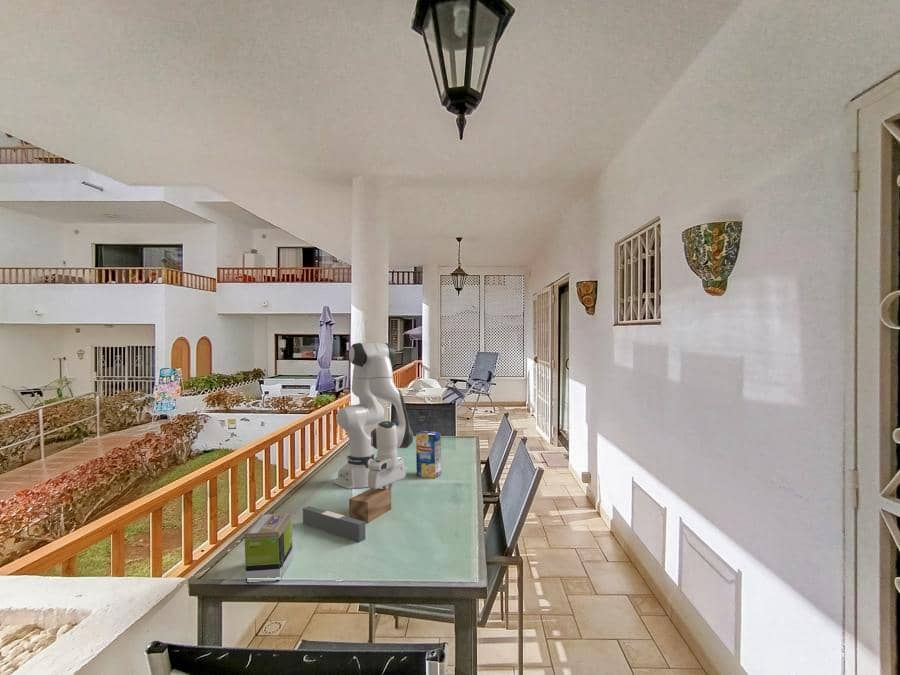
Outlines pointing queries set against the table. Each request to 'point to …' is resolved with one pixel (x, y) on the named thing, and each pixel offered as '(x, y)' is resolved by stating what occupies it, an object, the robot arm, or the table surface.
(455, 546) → the table surface
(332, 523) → the stop board
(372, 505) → the walnut block
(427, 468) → the beverage box
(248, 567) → the tea box
